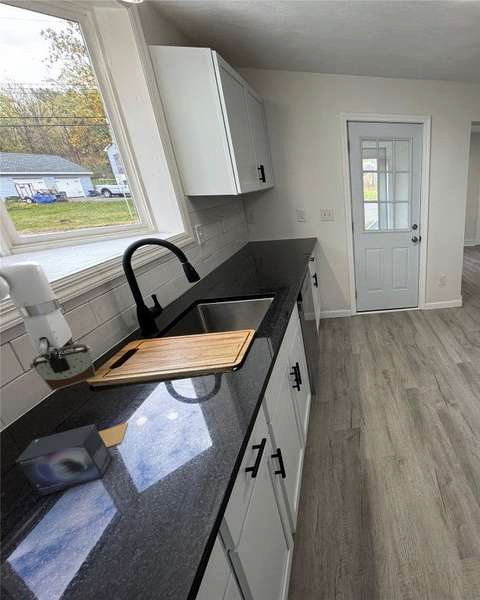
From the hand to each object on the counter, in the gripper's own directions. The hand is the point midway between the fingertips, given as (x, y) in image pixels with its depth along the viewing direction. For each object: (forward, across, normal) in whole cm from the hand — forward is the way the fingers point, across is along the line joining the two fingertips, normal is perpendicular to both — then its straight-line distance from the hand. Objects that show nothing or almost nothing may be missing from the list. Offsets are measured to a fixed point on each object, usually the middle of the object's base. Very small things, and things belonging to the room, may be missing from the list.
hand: (67, 364), depth 90 cm
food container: (+5, 0, 0) cm, 5 cm away
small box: (+13, +36, +8) cm, 39 cm away
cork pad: (+13, +25, +8) cm, 29 cm away
